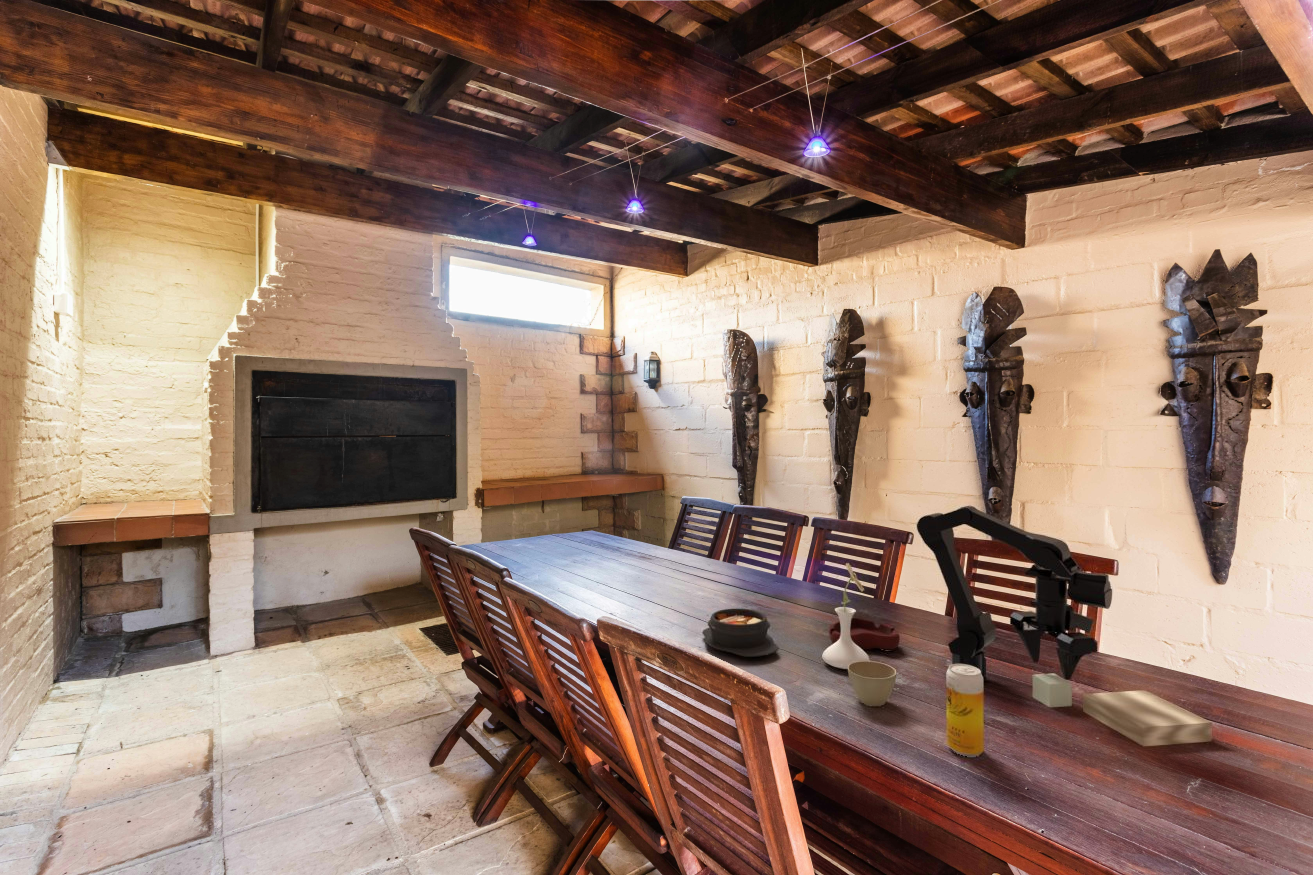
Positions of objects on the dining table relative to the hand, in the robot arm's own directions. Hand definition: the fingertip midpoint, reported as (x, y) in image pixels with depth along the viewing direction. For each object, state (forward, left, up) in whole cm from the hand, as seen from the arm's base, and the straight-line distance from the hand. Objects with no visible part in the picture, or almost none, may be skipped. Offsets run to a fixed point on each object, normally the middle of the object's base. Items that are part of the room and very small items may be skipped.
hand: (1051, 670), depth 132 cm
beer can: (-30, -16, -7) cm, 35 cm away
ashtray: (-25, +39, -7) cm, 47 cm away
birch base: (+10, -12, -7) cm, 17 cm away
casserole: (-59, +41, -7) cm, 72 cm away
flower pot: (-38, +5, -7) cm, 39 cm away
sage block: (0, 0, -7) cm, 7 cm away
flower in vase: (-35, +26, -7) cm, 44 cm away
